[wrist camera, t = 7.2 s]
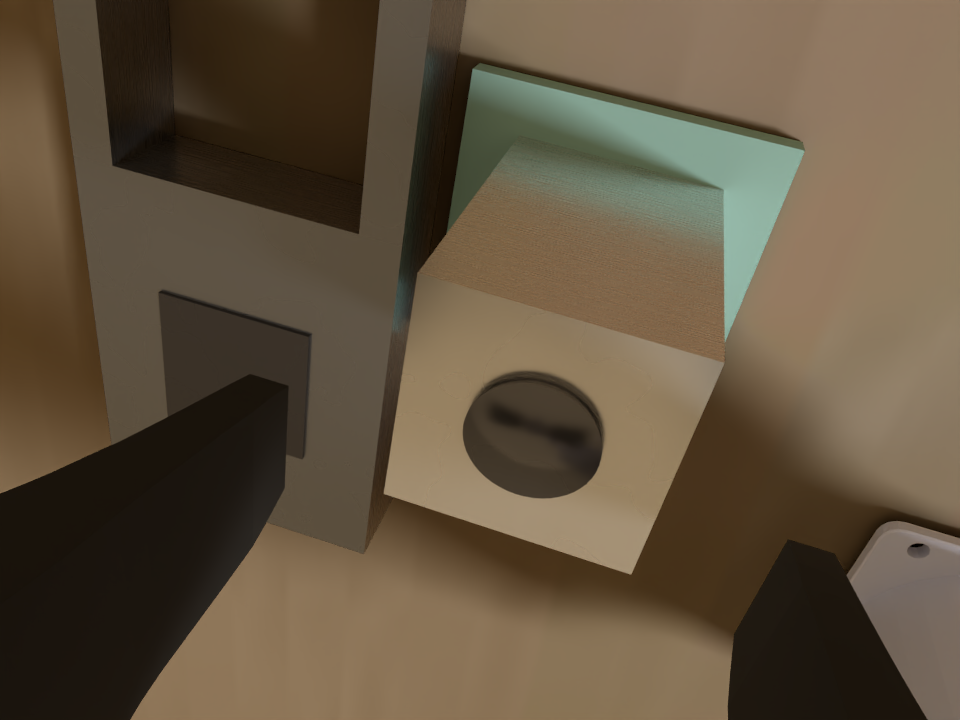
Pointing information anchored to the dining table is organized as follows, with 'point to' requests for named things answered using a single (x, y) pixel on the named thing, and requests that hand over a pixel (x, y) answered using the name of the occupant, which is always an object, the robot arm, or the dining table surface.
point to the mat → (634, 154)
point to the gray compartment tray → (259, 251)
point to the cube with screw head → (562, 352)
